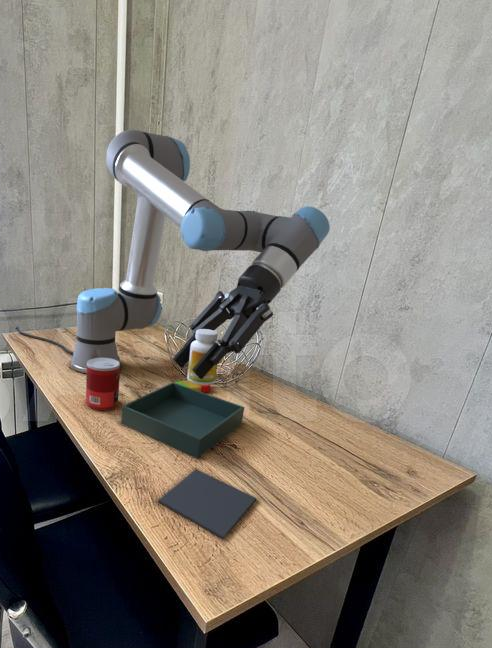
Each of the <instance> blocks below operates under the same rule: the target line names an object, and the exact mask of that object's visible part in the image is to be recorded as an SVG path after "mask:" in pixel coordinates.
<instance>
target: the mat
mask: <svg viewBox="0 0 492 648" xmlns="http://www.w3.org/2000/svg"><path fill="white" fill-rule="evenodd" d="M256 500H257V498H256V497H255V496H253V495H251V494H249V493H246V492H244V491H242V490H240V489H238V488H236V487H234V486H233V485H230V484H228V483H226V482H224V481H222V480H220V479H217V478H215V477H213V476H211V475H209V474H207V473H205V472H204V471H200V470H199V469H197V468H196V469H194V470H193V471H192V472H190V473H189V475H186V477H184V479H182V480H181V481H180V482H179V483H178V484H176V485H175V486H174V487H173V488H171V489H170V490H169V491H168V492H167V493H165V494H164V495H163V496H162V497H160V498H159V499H158V503H159V504H161V506H164V507H165V508H168V509H169V510H171V511H173V512H174V513H176V514H178V515H180V516H181V517H183V518H185V519H187V520H188V521H190V522H192V523H194V524H195V525H197V526H199V527H201V528H202V529H205V530H206V531H208V532H209V533H211V534H213V535H215V536H216V537H218V538H220V539H221V540H224V539H225V537H226V536H227V535H228V534H229V533H230V532H231V530H232V529H233V528H234V527H235V526H236V525H237V524H238V522H239V521H240V520H241V519H242V517H243V516H244V515H245V514H246V512H248V510H249V509H251V507H252V505H254V503H255V502H256Z"/></svg>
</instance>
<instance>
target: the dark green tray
mask: <svg viewBox="0 0 492 648" xmlns="http://www.w3.org/2000/svg"><path fill="white" fill-rule="evenodd" d="M244 412H245V406H242V405H241V404H240V405H239V404H236V403H234V402H230V401H229V400H225V399H222V398H221V397H217V396H213V395H211V394H208V393H206V392H203V393H202V392H199V391H197V390H194V389H191V388H188V387H185V386H182V385H179V384H177V383H175V381H172V382H170V383H168V384H165V385H164V386H162V387H160V388H158V389H155V390H154V391H151V392H149V393H146V394H145V395H143V396H140V397H138V398H137V399H134V400H131V401H129V402H128V403H126V404H124V405H122V406H121V421H120V422H121V424H122V425H124V426H126V427H127V428H130V429H132V430H135V431H136V432H139V433H140V434H143V435H146V436H148V437H150V438H152V439H154V440H156V441H158V442H161V443H162V444H165V445H168V446H169V447H171V448H173V449H176V450H178V451H180V452H182V453H184V454H186V455H189V456H190V457H193V458H195V459H199V458H201V457H202V456H203V455H204V454H206V453H207V452H208V451H209V450H211V449H212V448H213V447H214V446H216V445H217V444H218V443H219V442H221V441H222V440H223V439H225V437H227V436H228V435H230V434H231V433H232V432H234V431H235V430H236V429H237V428H238V427H239V426H241V425H242V424H243V417H244Z"/></svg>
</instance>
